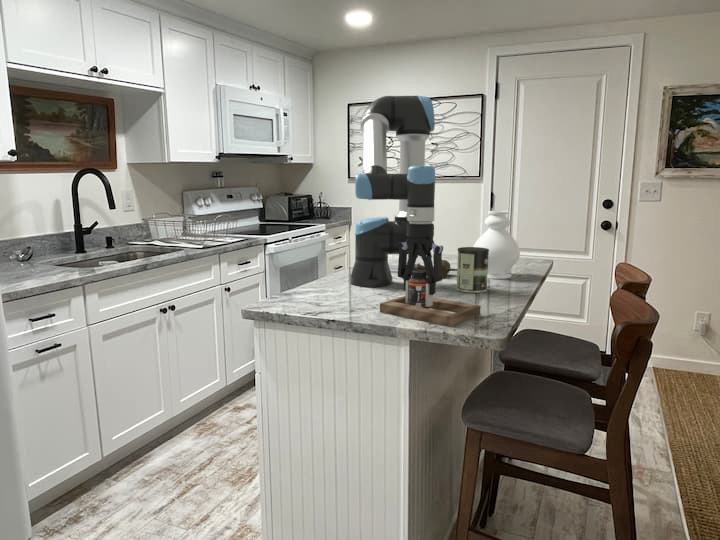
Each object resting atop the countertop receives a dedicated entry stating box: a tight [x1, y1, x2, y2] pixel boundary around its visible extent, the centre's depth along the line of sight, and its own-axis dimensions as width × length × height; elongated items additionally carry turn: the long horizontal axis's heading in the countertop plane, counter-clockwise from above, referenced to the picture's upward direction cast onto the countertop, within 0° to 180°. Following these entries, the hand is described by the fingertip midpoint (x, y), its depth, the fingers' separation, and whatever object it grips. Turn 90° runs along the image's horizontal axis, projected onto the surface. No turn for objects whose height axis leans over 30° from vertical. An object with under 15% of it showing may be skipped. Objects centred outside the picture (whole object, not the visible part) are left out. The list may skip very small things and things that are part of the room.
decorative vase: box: [472, 210, 521, 280], centre depth 203 cm, size 18×18×25 cm
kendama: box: [413, 259, 458, 279], centre depth 204 cm, size 6×10×20 cm
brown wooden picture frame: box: [379, 295, 482, 327], centre depth 148 cm, size 23×16×2 cm
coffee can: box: [456, 246, 489, 294], centre depth 178 cm, size 10×10×14 cm
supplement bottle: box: [408, 270, 429, 309], centre depth 149 cm, size 6×6×11 cm
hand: (419, 303), depth 150 cm, fingers closed on supplement bottle, 6 cm apart
